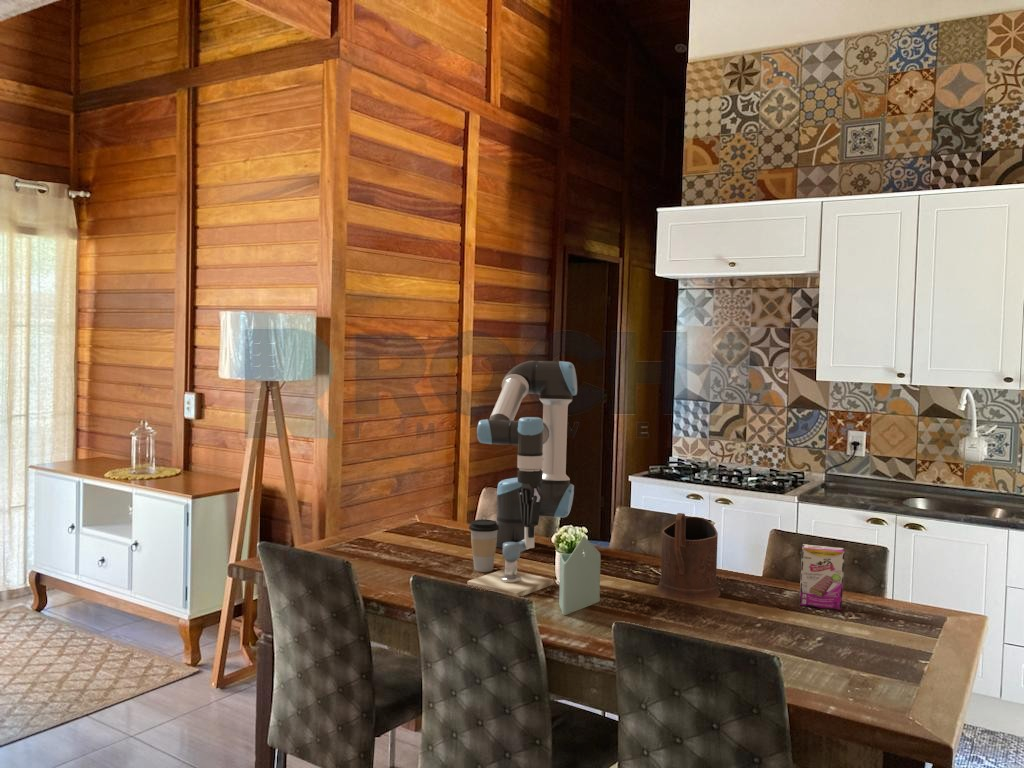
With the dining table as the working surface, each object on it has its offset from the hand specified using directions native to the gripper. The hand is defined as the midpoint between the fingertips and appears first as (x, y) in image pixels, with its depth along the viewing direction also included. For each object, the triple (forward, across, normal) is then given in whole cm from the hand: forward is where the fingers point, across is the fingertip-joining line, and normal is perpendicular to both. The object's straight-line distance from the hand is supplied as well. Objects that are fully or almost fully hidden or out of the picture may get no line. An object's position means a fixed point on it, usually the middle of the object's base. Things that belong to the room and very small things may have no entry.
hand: (529, 547), depth 258 cm
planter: (+11, -25, -1) cm, 28 cm away
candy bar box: (+11, -49, -67) cm, 84 cm away
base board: (+10, -2, +7) cm, 13 cm away
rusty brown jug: (+11, -26, -38) cm, 47 cm away
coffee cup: (+10, +16, +8) cm, 21 cm away
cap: (+2, 0, +4) cm, 4 cm away
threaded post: (+8, -3, +7) cm, 11 cm away
